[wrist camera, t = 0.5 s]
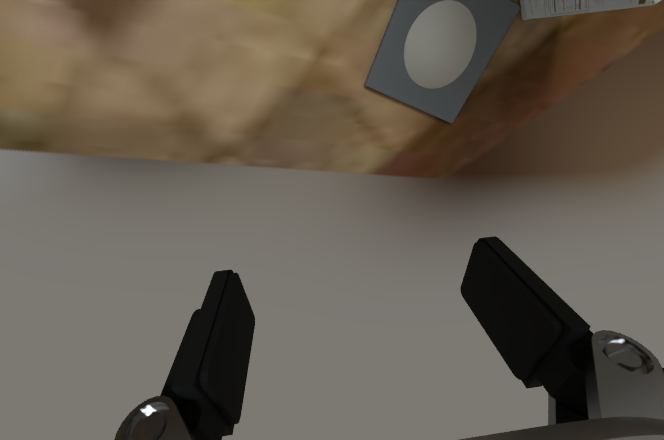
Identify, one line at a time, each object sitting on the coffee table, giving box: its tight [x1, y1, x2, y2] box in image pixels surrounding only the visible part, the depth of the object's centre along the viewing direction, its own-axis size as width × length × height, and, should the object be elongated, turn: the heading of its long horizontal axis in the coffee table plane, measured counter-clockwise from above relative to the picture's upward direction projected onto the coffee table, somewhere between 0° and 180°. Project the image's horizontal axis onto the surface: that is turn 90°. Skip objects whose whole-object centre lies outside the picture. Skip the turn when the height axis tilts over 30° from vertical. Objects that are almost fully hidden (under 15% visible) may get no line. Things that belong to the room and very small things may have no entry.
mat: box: [364, 0, 521, 123], centre depth 32 cm, size 14×14×1 cm
